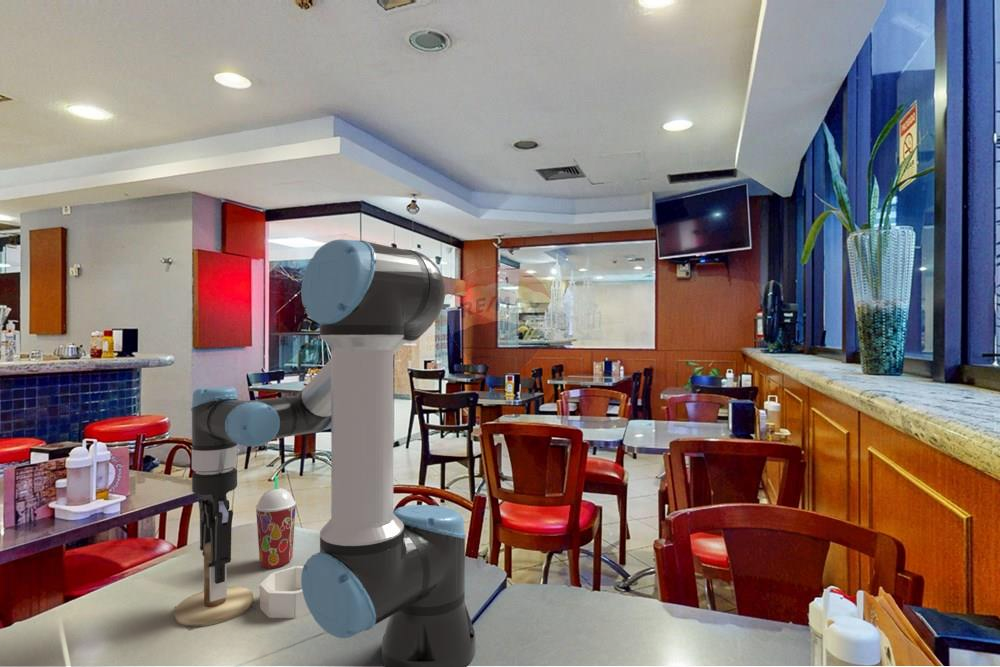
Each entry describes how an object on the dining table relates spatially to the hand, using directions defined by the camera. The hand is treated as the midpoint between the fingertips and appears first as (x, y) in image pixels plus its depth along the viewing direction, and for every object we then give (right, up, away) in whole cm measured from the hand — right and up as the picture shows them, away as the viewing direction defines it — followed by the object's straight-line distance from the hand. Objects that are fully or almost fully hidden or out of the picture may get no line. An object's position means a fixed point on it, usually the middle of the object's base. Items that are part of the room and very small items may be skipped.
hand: (215, 594), depth 102 cm
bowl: (+14, -3, +2) cm, 15 cm away
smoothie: (+3, -3, +20) cm, 21 cm away
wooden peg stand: (0, -2, 0) cm, 2 cm away
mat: (0, -3, 0) cm, 3 cm away
